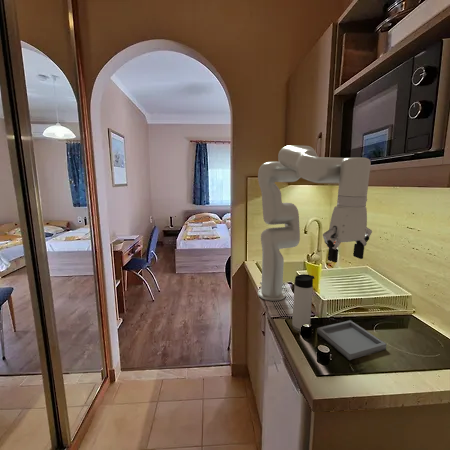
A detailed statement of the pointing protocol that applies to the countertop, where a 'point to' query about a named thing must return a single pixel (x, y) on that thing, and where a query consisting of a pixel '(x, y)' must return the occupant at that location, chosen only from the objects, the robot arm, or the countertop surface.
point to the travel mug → (302, 301)
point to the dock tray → (351, 339)
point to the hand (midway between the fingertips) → (345, 259)
